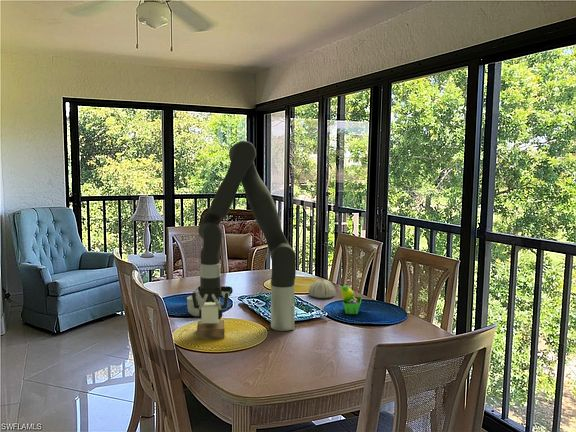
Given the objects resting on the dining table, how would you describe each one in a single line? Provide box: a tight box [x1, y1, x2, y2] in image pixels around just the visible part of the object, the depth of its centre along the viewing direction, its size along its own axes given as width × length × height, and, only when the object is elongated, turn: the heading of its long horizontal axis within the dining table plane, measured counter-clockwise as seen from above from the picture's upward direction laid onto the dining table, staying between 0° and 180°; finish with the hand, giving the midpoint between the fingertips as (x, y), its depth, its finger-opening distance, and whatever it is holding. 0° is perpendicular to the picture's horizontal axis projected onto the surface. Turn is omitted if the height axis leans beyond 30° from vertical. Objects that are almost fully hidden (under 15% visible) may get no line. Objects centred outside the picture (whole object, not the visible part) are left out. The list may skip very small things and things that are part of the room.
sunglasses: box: [195, 285, 234, 296], centre depth 225 cm, size 17×15×5 cm
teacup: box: [186, 294, 217, 318], centre depth 201 cm, size 14×11×8 cm
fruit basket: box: [340, 285, 362, 315], centre depth 207 cm, size 11×9×11 cm
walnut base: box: [196, 319, 226, 341], centre depth 178 cm, size 10×10×4 cm
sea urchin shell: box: [308, 279, 337, 299], centre depth 231 cm, size 13×14×8 cm
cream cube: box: [200, 302, 220, 323], centre depth 177 cm, size 6×6×6 cm
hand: (210, 318), depth 177 cm, fingers closed on cream cube, 6 cm apart
